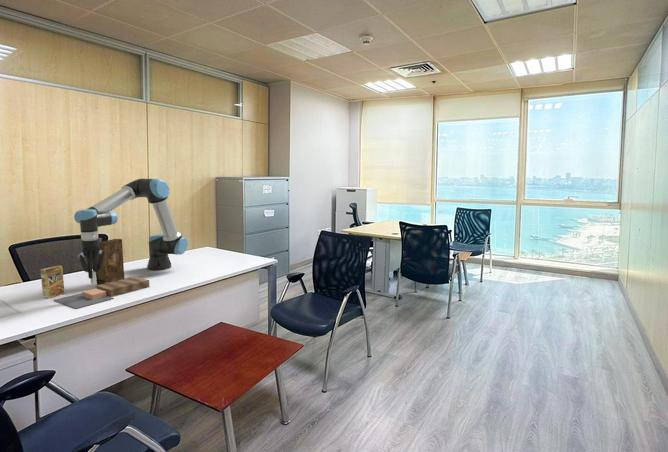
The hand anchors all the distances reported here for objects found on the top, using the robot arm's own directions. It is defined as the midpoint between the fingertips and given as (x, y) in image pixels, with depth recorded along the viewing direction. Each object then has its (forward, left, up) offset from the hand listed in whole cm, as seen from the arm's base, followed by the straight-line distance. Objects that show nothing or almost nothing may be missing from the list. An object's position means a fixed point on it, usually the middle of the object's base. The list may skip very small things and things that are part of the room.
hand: (93, 283), depth 204 cm
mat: (+5, 0, -7) cm, 9 cm away
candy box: (+10, -20, -7) cm, 24 cm away
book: (-20, -19, -7) cm, 28 cm away
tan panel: (-16, 0, -7) cm, 17 cm away
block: (0, 0, -7) cm, 7 cm away
